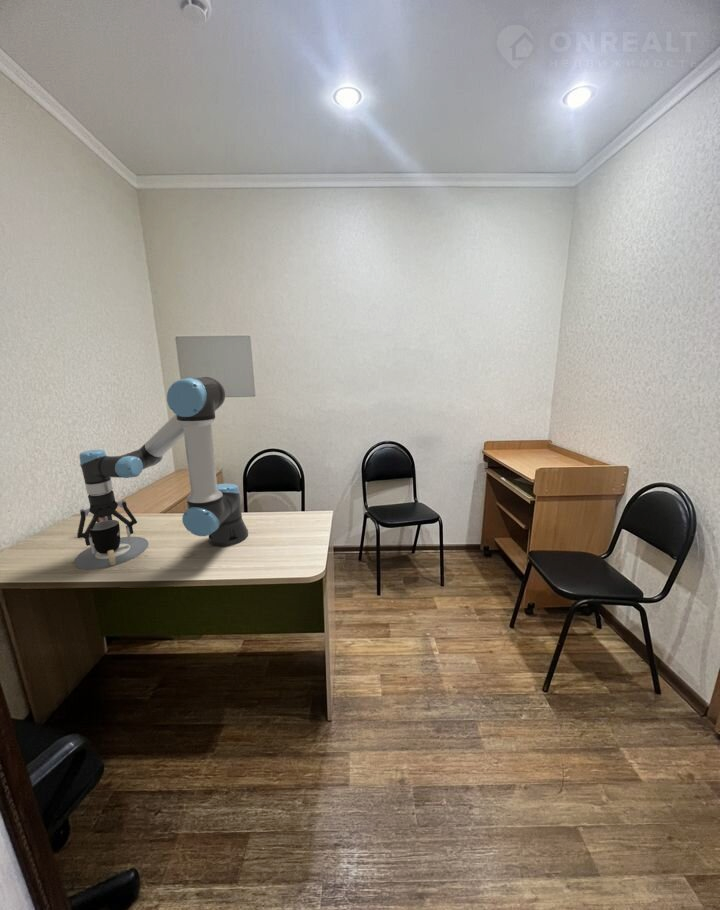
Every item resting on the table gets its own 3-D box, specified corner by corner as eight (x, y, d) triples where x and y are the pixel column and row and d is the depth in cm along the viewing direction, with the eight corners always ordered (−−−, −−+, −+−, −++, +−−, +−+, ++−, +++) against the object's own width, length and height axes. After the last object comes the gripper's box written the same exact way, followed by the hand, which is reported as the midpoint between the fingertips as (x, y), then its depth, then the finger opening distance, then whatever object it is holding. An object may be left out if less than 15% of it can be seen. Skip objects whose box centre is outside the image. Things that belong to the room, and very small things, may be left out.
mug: (123, 550, 129) (119, 525, 127) (93, 558, 124) (88, 532, 122) (121, 538, 139) (117, 515, 136) (93, 545, 133) (88, 521, 131)
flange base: (162, 541, 140) (159, 527, 139) (114, 573, 119) (110, 557, 117) (113, 537, 144) (110, 523, 143) (58, 568, 122) (53, 552, 121)
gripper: (136, 482, 135) (145, 533, 141) (58, 497, 121) (72, 553, 126) (139, 487, 130) (149, 540, 135) (58, 503, 115) (73, 562, 121)
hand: (112, 546), depth 131 cm, fingers open, 11 cm apart
